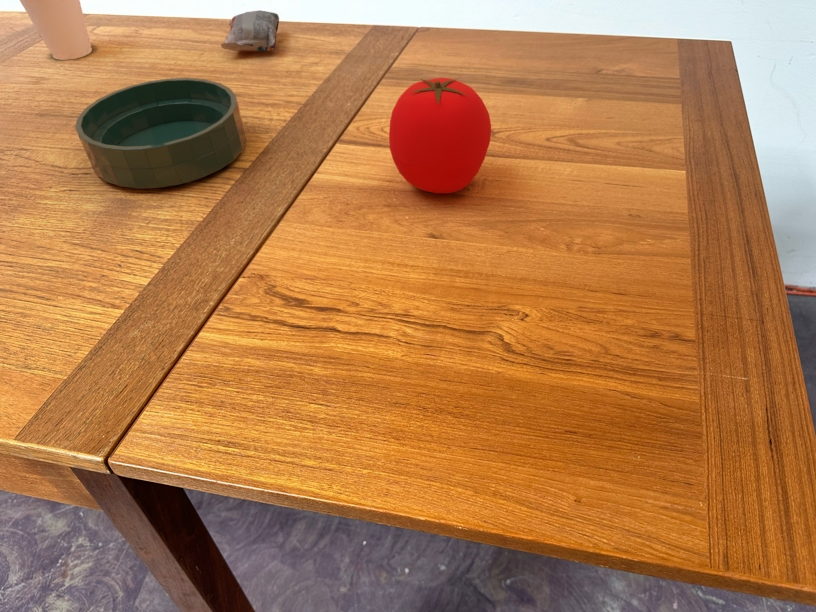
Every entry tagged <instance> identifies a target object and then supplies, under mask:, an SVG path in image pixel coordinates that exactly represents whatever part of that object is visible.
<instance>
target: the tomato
mask: <svg viewBox="0 0 816 612" xmlns="http://www.w3.org/2000/svg"><path fill="white" fill-rule="evenodd" d="M420 80H421V81H417V82H415V83H413V84H411V85H410V86H409V87H407V89H406V90H404V91H403V92H402V93H401V95H400V96H399V97H398V99H397V101H396V103H395V105H394V107H393V109H392V111H391V115H390V120H389V129H388V130H389V132H388V133H389V134H388V142H389V143H388V144H389V152H390V154H391V157H392V160H393V163H394V165H395V167H396V169H397V171H398V172H399V174H400V175H401V177H403V179H405V181H406V182H407V183H408V184H410V185H411V186H413V187H416V188H417V189H419V190H422V191H425V192H428V193H431V194H432V193H433V194H451V193H456V192H459V191H461V190H463V189H465V187H467V186H468V185H470V184H471V182H472V181H473V180H474V179H475V178H476V176H477V175H478V173H479V172H480V169H481V168H482V166H483V163H484V161H485V158H486V157H487V153H488V150H489V147H490V143H491V137H492V136H491V135H492V123H491V118H490V113H489V111H488V108H487V106H486V105H485V102H484V101H483V99H482V97H481V96H480V95H479V94H478V93H477V92H476V91H475V90H474V89H473V87H471V86H469V85H468V84H466V83H464V82H462V81H459V80H457V78H456V79H454V78H449V77H436V78H431V79H422V78H420Z"/></svg>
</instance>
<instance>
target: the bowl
mask: <svg viewBox="0 0 816 612" xmlns="http://www.w3.org/2000/svg"><path fill="white" fill-rule="evenodd" d="M74 129H75V131H76V134H77V136H78V138H79V140H80V142H81V145H82V147H83V149H84V151H85V154H86V156H87V158H88V160H89V161H90V165H91V167H92V169H93V172H94V173H95V175H97V176H98V177H99V178H101V179H102V180H103V181H104V182H107V183H109V184H112V185H116V186H119V187H124V188H132V189H161V188H166V187H173V186H179V185H183V184H187V183H192V182H193V181H196V180H200V179H202V178H205V177H207V176H210V175H211V174H214V173H216V172H218V171H220V170H222V169H223V168H225V167H226V166H227V165H229V164H231V163H232V162H234V161H235V160H236V159H237V158H238V156H239V155H240V154H241V153H242V152H243V151H244V148H245V145H246V144H247V133H246V129H245V124H244V120H243V117H242V114H241V109H240V106H239V101H238V98H237V95H236V93H235V92H234V91H233V90H232V89H231V88H230V87H228V86H226V85H224V84H223V83H221V82H218V81H213V80H209V79H206V78H194V77H175V78H174V77H172V78H171V77H170V78H163V79H155V80H148V81H144V82H141V83H136V84H133V85H129V86H126V87H123V88H120V89H117V90H114V91H112V92H110V93H108V94H106V95H104V96H101V97H99V98H98V99H96V100H95V101H93V102H92V103H90V104H89V105H88V106H86V107H85V108H84V109H83V110H82V111H81V113H80V114H79V115H78V116H77V118H76V122H75V126H74Z"/></svg>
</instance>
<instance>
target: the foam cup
mask: <svg viewBox="0 0 816 612" xmlns="http://www.w3.org/2000/svg"><path fill="white" fill-rule="evenodd" d="M19 2H20V4H21V6H22V7H23V8H24V10H25V12H26V14H27V16H28V17H29V19H30V21H31V23H32V24H33V26H34V27H35V29H36V31H37V32H38V34H39V36H40V37H41V39H42V41H43V42H44V45H46V49H48V51H49V53H50V55H52V57H53V59H56V60H60V61H61V60H62V61H68V60H76V59H79V58H82V57H85V56H87V55H89V54H90V53H91V52H92V51H93V48H92V44H91V41H90V36H89V32H88V28H87V24H86V20H85V17H84V12H83V9H82V5H81V1H80V0H19Z"/></svg>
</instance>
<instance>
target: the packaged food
mask: <svg viewBox="0 0 816 612" xmlns="http://www.w3.org/2000/svg"><path fill="white" fill-rule="evenodd" d="M279 23H280V17H279V14H278V13H276V12H272V11H267V10H251V11H245V12H243V13H239V14H237V15H234V16H233V17H232V18H231V20H229V24H228V25H229V27H230V28H229V31H228V32H229V33H228V34H227V35H226V38H225V41H224V43H221V44H220V46H221V48H222V49H224V50H230V51H233V52H269V51H273V50H274V49H275V48H276V44H277V33H278V29H279Z"/></svg>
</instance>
